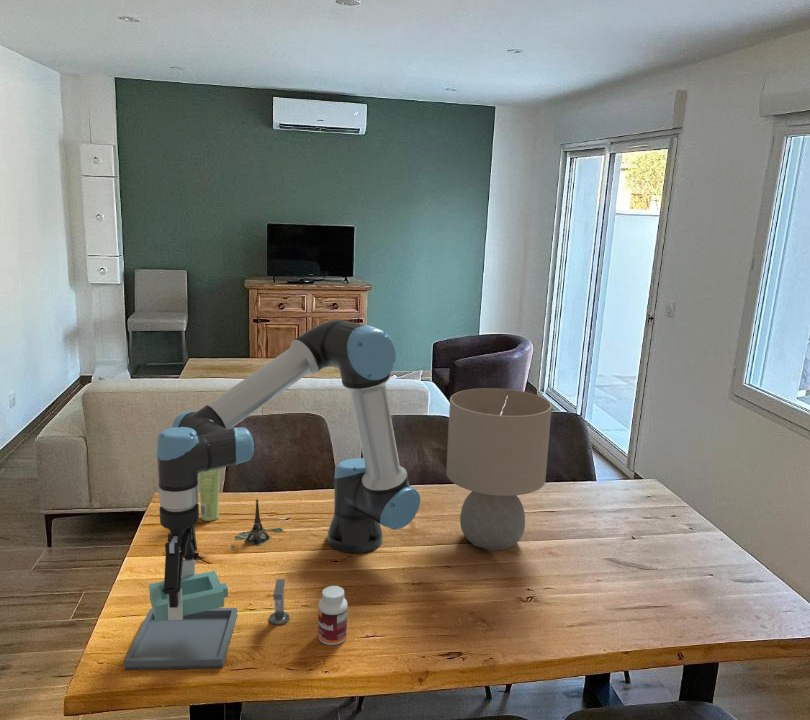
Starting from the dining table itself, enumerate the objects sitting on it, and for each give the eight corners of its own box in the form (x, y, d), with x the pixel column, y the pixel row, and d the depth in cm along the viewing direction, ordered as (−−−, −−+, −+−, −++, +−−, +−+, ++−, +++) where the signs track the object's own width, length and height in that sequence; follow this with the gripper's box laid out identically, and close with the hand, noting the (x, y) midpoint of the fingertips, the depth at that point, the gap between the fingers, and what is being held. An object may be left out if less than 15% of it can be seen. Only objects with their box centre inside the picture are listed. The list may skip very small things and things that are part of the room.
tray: (237, 615, 156) (237, 607, 156) (222, 668, 139) (222, 659, 138) (150, 616, 155) (150, 608, 154) (124, 669, 137) (124, 660, 137)
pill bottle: (311, 637, 149) (312, 591, 147) (332, 625, 154) (333, 580, 151) (332, 650, 145) (332, 603, 143) (352, 637, 150) (353, 591, 148)
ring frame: (222, 583, 153) (221, 569, 152) (231, 604, 145) (231, 589, 144) (149, 599, 146) (149, 583, 145) (155, 622, 138) (154, 606, 137)
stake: (290, 610, 159) (290, 579, 157) (288, 627, 153) (287, 594, 151) (271, 611, 158) (270, 579, 157) (267, 627, 152) (267, 594, 150)
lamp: (495, 576, 176) (505, 422, 167) (423, 537, 196) (429, 397, 187) (559, 545, 194) (572, 404, 185) (487, 512, 213) (496, 383, 204)
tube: (219, 512, 207) (217, 450, 202) (222, 519, 202) (220, 456, 198) (199, 515, 204) (197, 453, 200) (202, 523, 200) (200, 458, 195)
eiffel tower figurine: (282, 529, 199) (282, 485, 196) (288, 545, 190) (288, 499, 187) (228, 535, 194) (227, 490, 191) (232, 552, 185) (230, 505, 182)
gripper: (174, 481, 151) (177, 573, 156) (143, 530, 128) (147, 637, 133) (209, 481, 151) (211, 573, 156) (184, 531, 129) (188, 636, 134)
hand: (182, 602), depth 145 cm, fingers closed on ring frame, 11 cm apart
